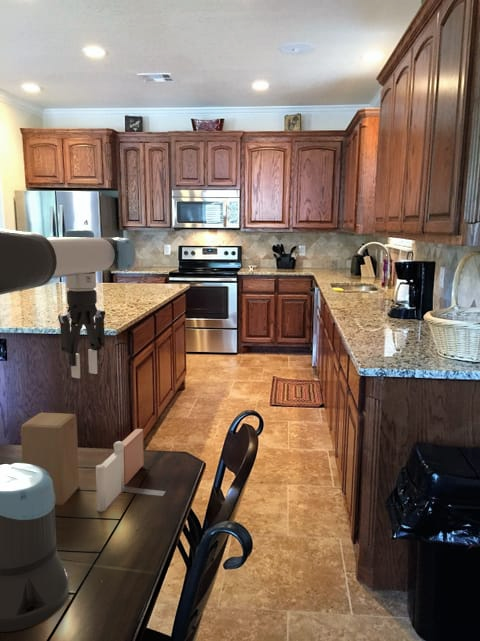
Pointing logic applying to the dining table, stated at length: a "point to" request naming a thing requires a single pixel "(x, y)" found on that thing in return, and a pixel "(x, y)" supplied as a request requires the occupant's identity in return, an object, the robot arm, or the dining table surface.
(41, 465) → the wooden block
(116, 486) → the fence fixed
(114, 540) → the dining table surface
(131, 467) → the terracotta rectangular slab
